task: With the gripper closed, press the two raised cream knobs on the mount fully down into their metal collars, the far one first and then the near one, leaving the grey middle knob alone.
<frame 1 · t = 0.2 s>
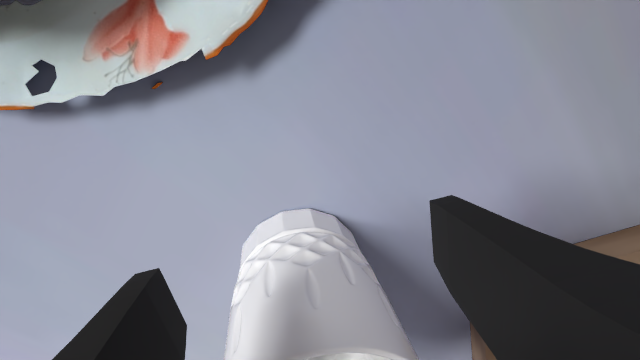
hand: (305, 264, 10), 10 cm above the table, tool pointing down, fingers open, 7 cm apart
white cup: (298, 255, 23), on the table
knob mount: (602, 289, 28), on the table
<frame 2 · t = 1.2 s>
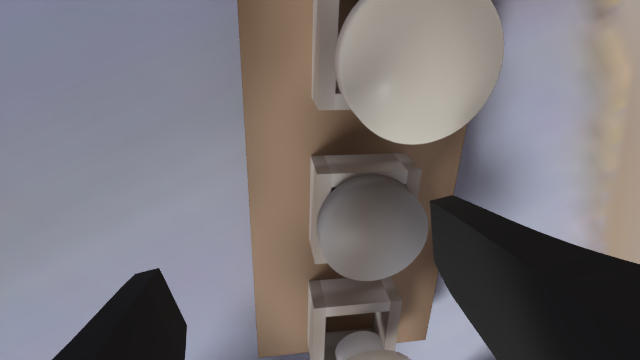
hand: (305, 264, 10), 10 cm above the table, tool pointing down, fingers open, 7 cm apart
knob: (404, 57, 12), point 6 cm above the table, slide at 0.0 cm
knob mount: (346, 179, 20), on the table
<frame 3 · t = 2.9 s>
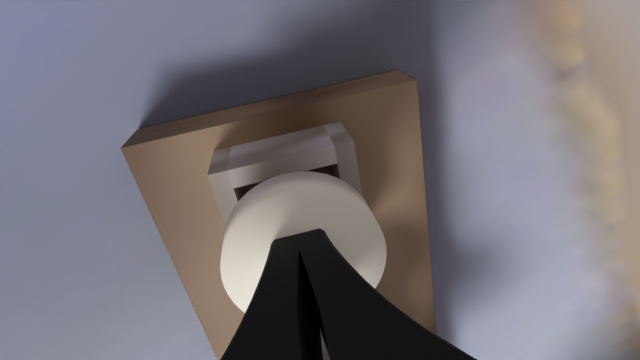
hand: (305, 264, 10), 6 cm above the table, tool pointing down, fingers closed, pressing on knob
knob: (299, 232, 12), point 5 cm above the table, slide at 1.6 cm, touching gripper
knob mount: (319, 295, 19), on the table
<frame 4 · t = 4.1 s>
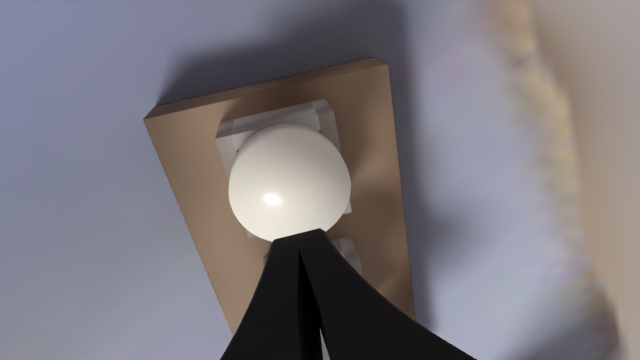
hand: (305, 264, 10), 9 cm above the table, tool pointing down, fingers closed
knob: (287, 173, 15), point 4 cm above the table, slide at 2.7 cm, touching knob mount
knob mount: (310, 257, 22), on the table
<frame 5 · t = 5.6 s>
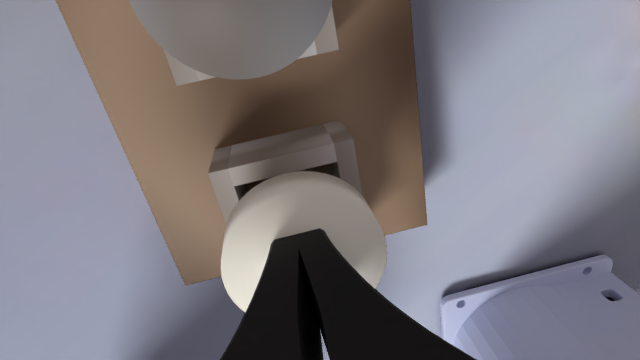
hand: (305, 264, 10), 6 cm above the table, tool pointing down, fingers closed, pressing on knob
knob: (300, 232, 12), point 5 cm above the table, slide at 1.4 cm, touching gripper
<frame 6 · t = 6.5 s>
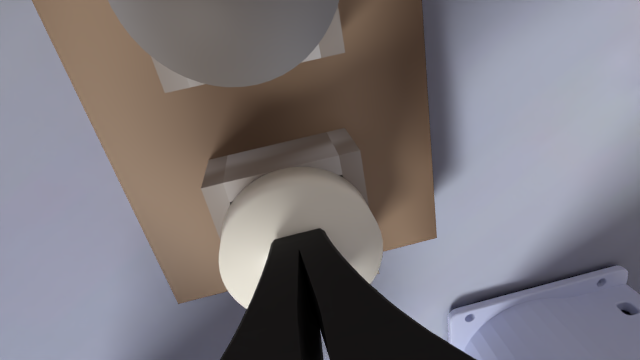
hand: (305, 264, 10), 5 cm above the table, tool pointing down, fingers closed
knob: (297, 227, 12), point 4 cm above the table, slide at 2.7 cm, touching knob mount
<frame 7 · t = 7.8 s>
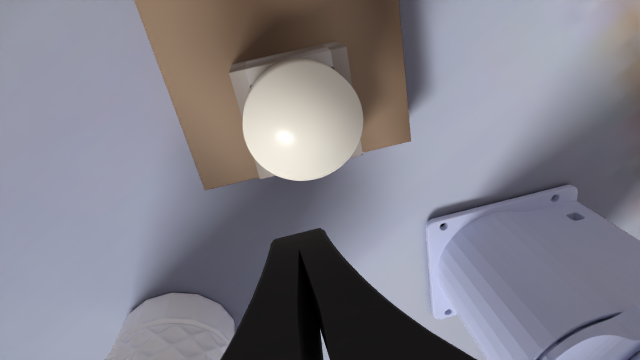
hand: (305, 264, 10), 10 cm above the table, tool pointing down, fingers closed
white cup: (181, 330, 24), on the table
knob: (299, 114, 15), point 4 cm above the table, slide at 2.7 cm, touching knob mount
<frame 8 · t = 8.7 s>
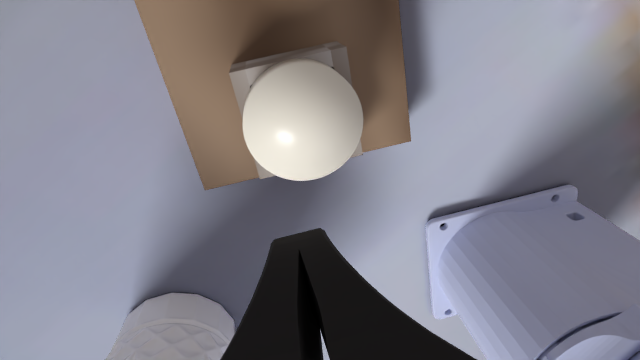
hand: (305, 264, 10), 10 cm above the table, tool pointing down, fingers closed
white cup: (181, 330, 24), on the table
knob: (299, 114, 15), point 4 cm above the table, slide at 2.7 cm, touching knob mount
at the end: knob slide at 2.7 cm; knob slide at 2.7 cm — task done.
